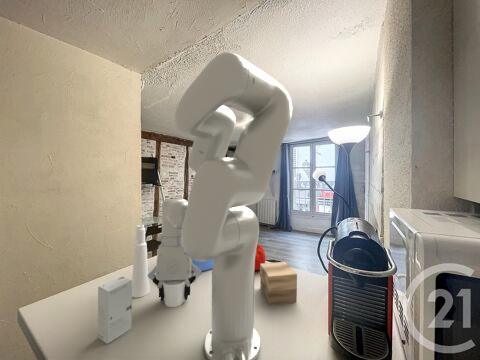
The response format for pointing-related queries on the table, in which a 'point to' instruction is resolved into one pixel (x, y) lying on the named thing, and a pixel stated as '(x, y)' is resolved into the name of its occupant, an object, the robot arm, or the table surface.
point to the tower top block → (278, 276)
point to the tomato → (259, 257)
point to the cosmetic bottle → (140, 265)
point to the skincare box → (114, 309)
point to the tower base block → (278, 295)
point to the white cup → (174, 292)
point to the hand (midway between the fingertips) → (174, 297)
